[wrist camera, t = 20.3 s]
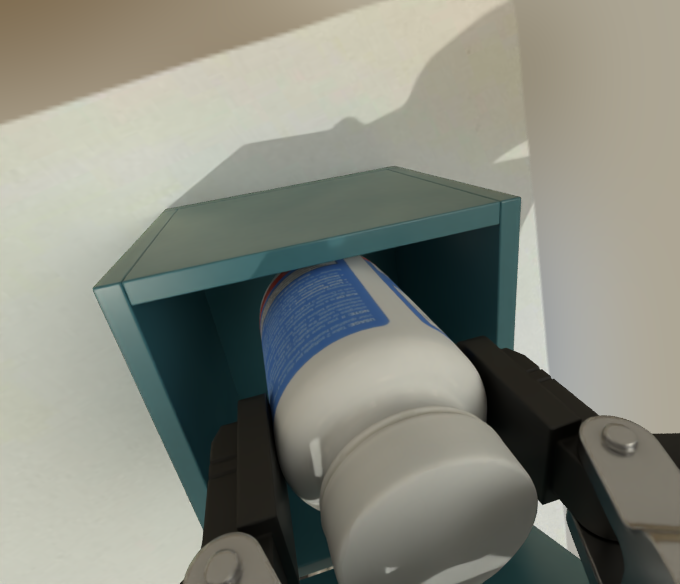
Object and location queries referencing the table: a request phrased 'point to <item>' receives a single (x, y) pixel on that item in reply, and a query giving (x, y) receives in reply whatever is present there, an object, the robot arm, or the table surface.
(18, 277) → the table surface
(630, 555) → the robot arm
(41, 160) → the table surface
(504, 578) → the lid
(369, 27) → the table surface
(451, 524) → the pill bottle
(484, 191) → the teal lidded chest
